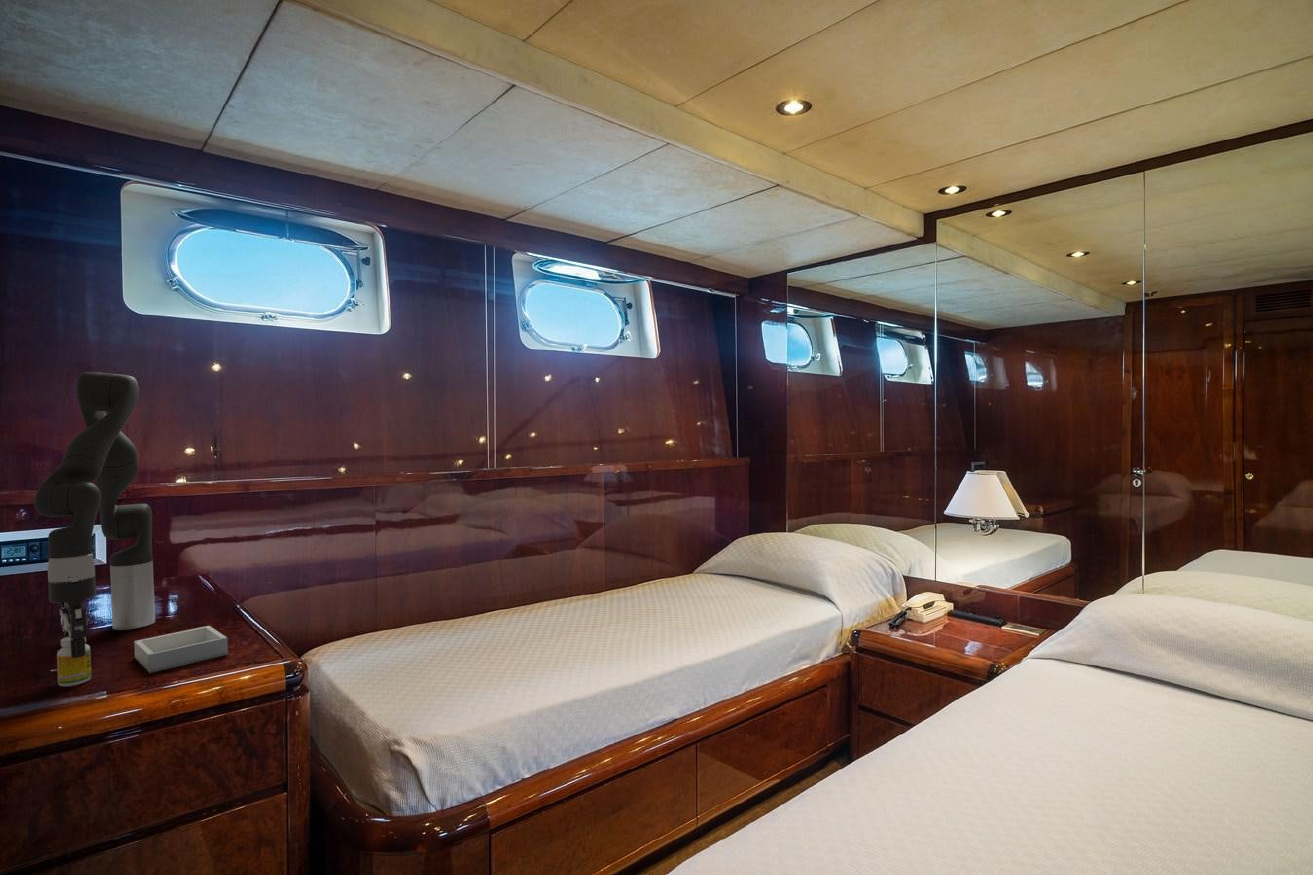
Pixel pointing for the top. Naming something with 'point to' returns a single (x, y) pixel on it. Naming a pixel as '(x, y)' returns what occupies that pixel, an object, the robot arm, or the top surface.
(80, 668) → the supplement bottle
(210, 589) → the top surface
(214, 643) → the box
